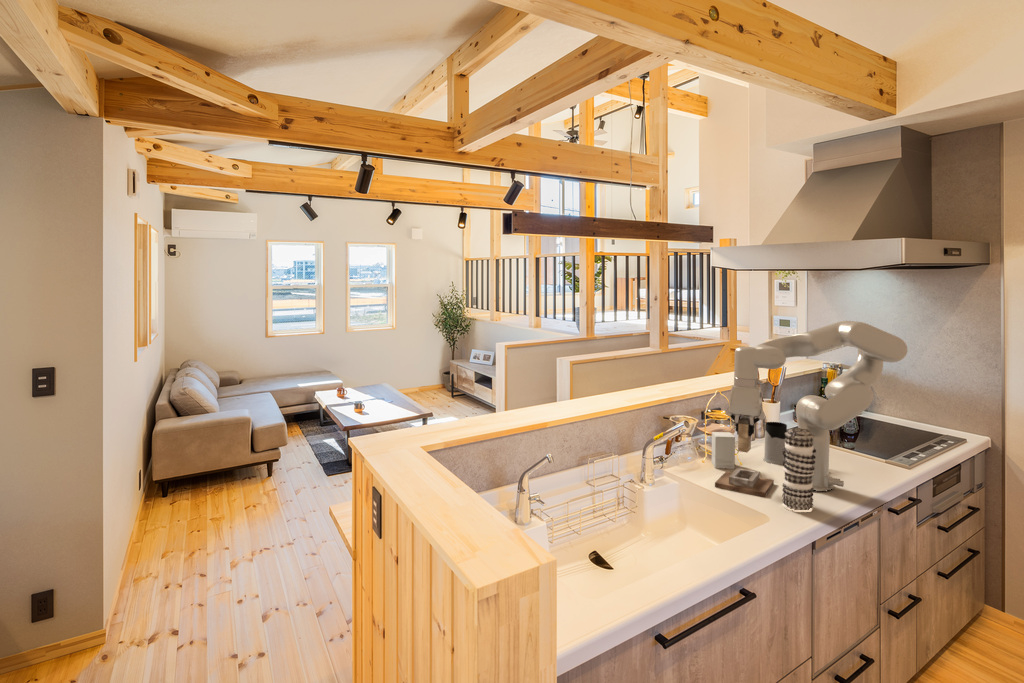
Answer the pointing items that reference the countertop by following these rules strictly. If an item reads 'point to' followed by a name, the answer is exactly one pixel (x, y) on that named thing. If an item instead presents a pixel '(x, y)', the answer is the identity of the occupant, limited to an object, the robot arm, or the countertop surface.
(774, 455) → the glass holder
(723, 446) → the supplement box
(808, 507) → the decorative candle
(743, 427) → the brown upright block
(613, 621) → the countertop surface
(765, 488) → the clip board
